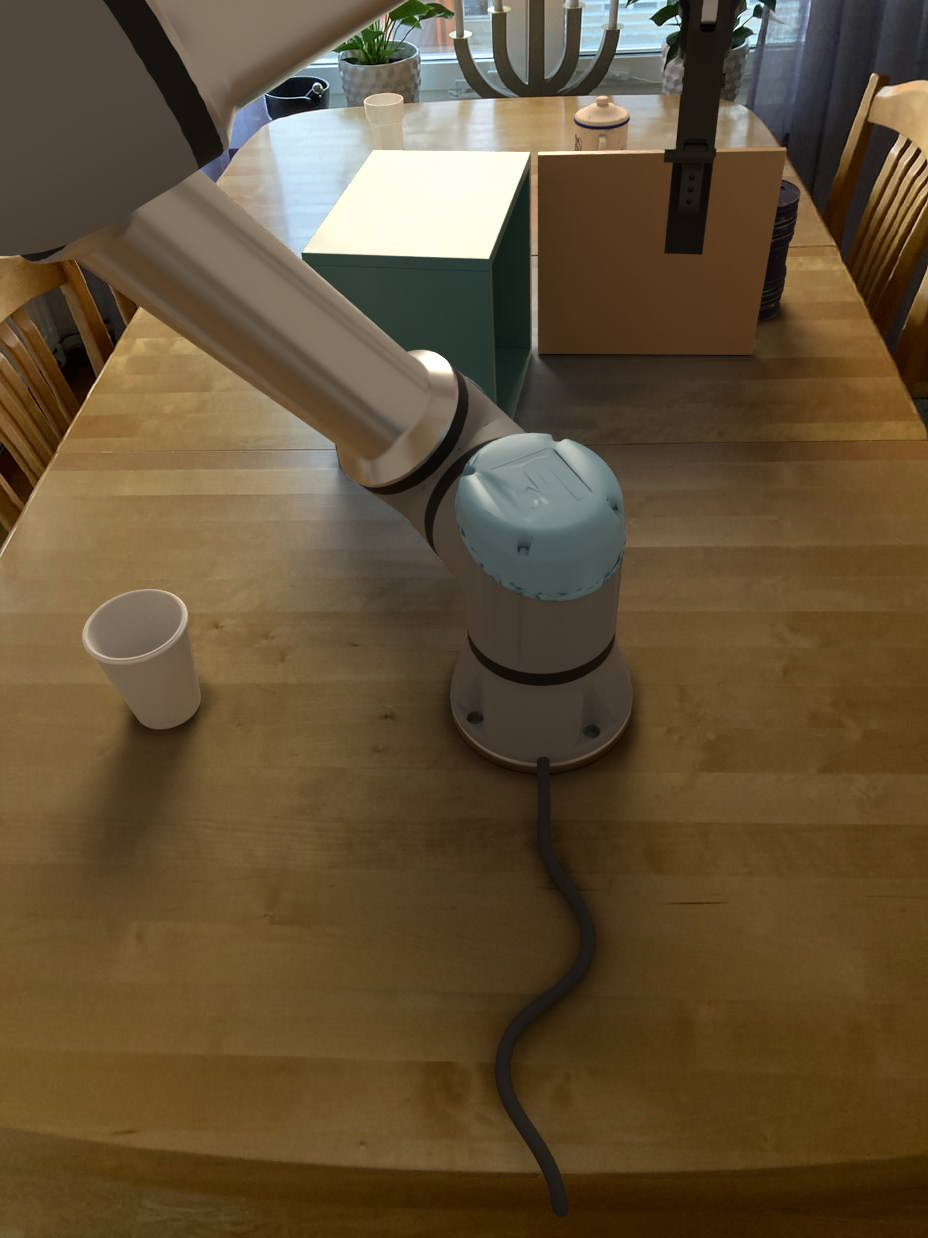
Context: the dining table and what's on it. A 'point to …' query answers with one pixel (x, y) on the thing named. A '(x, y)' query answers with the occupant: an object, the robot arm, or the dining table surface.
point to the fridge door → (651, 254)
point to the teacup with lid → (601, 127)
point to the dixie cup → (147, 655)
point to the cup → (385, 120)
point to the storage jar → (779, 250)
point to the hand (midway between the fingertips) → (686, 213)
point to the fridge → (439, 258)
